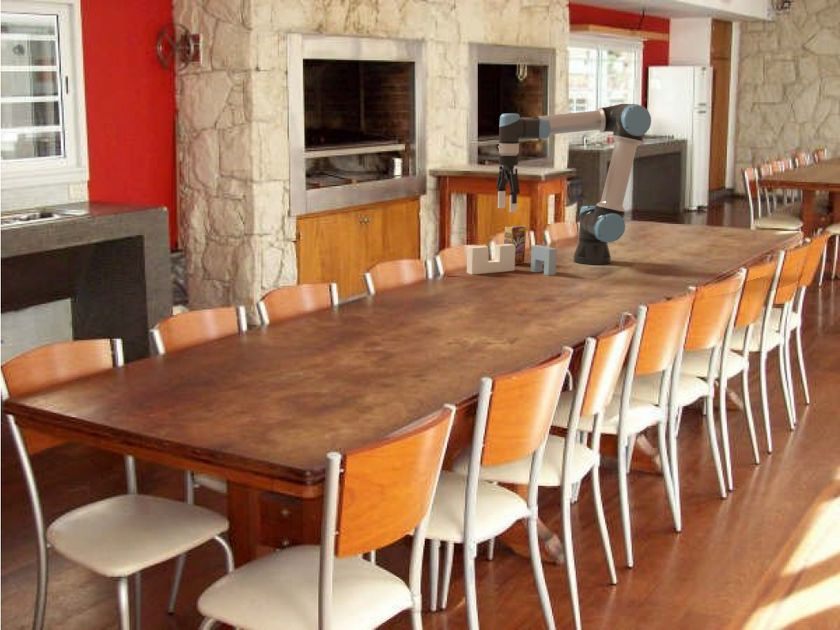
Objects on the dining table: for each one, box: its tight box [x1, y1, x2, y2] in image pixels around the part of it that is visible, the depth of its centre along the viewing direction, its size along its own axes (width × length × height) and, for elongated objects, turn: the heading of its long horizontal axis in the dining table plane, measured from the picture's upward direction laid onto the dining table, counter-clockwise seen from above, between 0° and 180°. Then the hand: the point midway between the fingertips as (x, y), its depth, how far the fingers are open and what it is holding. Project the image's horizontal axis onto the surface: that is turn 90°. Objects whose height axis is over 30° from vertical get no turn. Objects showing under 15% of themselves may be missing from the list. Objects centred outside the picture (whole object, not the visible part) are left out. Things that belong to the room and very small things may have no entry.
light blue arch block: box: [530, 244, 558, 276], centre depth 418 cm, size 11×4×10 cm, turn 32°
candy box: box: [503, 225, 527, 265], centre depth 436 cm, size 9×4×15 cm, turn 134°
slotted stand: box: [466, 243, 516, 275], centre depth 418 cm, size 20×4×10 cm, turn 122°
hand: (507, 210), depth 421 cm, fingers open, 13 cm apart
